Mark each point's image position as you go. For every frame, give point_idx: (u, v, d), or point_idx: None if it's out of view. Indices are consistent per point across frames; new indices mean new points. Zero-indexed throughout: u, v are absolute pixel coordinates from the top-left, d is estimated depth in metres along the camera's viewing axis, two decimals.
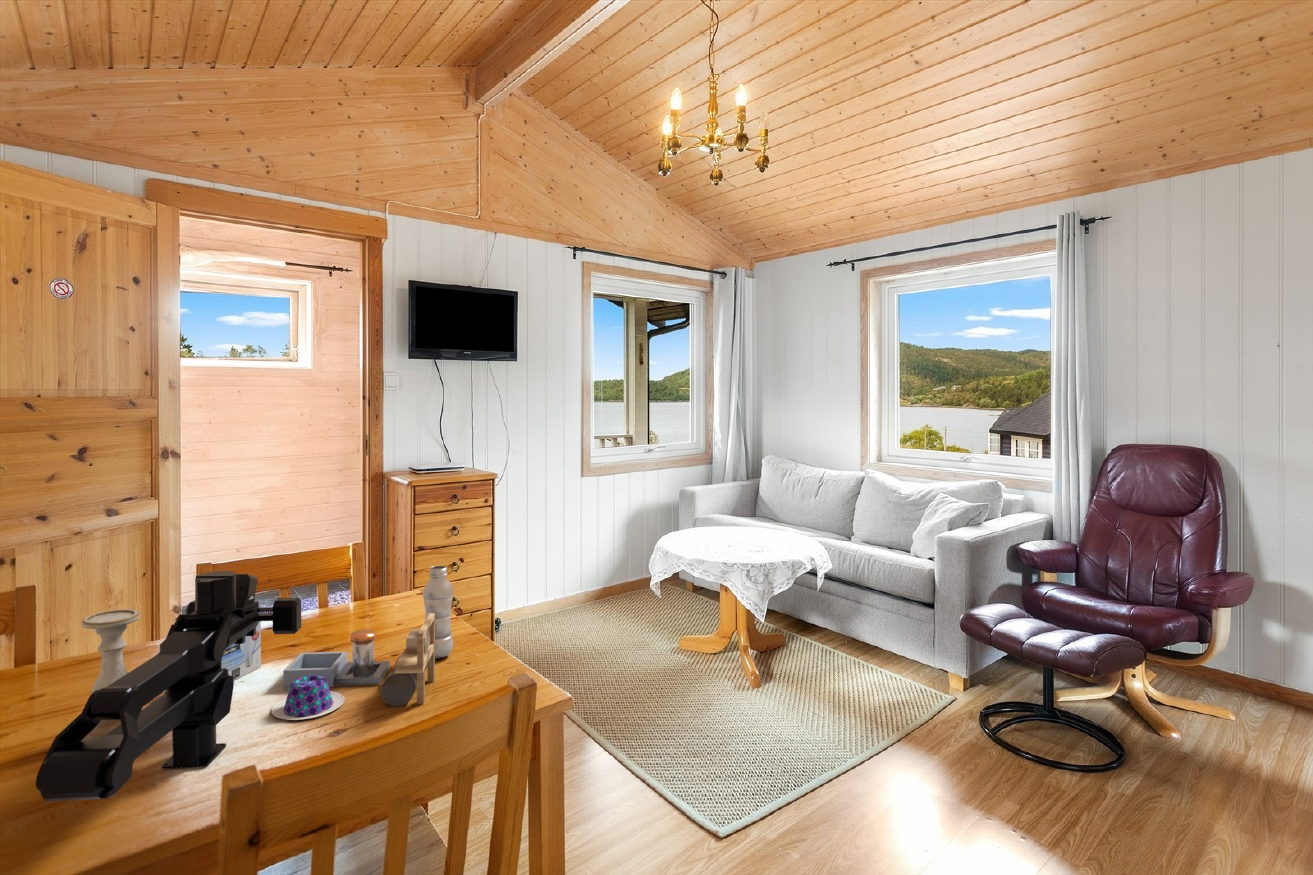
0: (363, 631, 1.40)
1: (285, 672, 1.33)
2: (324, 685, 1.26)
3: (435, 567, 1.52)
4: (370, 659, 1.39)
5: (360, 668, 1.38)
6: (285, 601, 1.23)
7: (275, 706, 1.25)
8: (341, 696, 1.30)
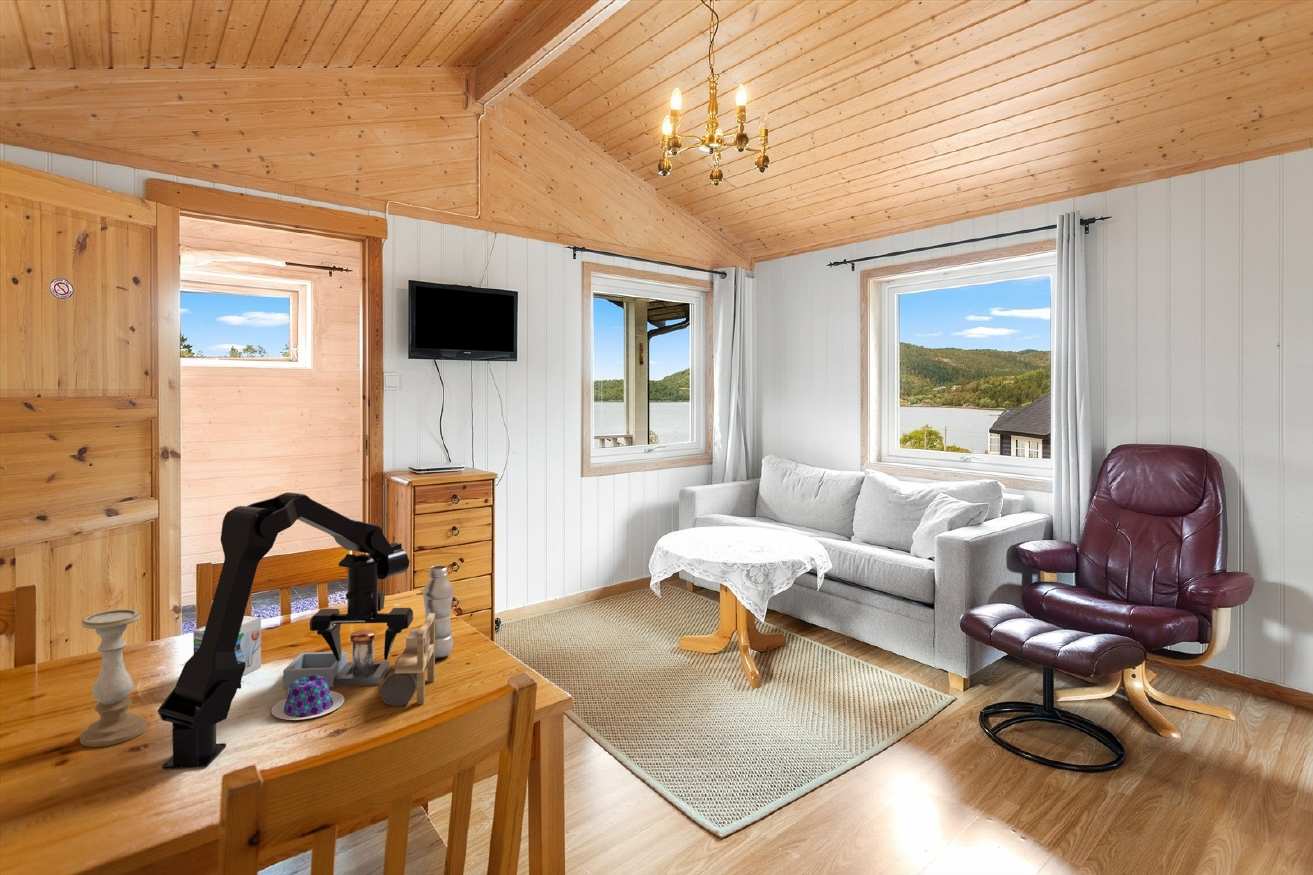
0: (363, 631, 1.40)
1: (285, 672, 1.33)
2: (325, 685, 1.26)
3: (435, 567, 1.52)
4: (370, 659, 1.39)
5: (360, 668, 1.38)
6: None
7: (275, 707, 1.25)
8: (340, 695, 1.30)
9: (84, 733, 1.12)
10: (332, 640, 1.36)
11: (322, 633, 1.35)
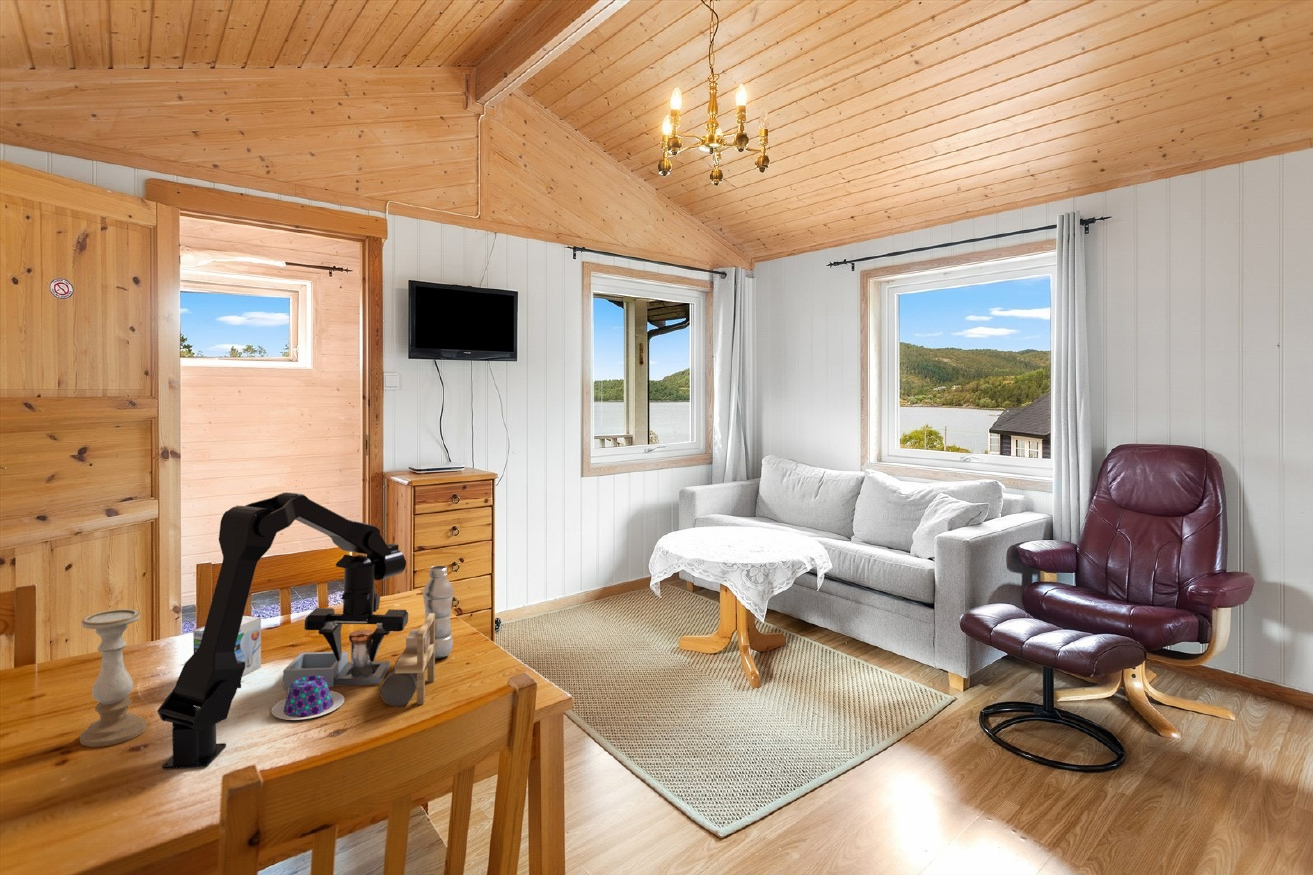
0: (362, 631, 1.40)
1: (285, 672, 1.33)
2: (325, 684, 1.26)
3: (435, 567, 1.52)
4: (368, 659, 1.39)
5: (358, 668, 1.38)
6: None
7: (274, 707, 1.25)
8: (340, 695, 1.30)
9: (84, 733, 1.12)
10: (333, 640, 1.36)
11: (324, 633, 1.35)
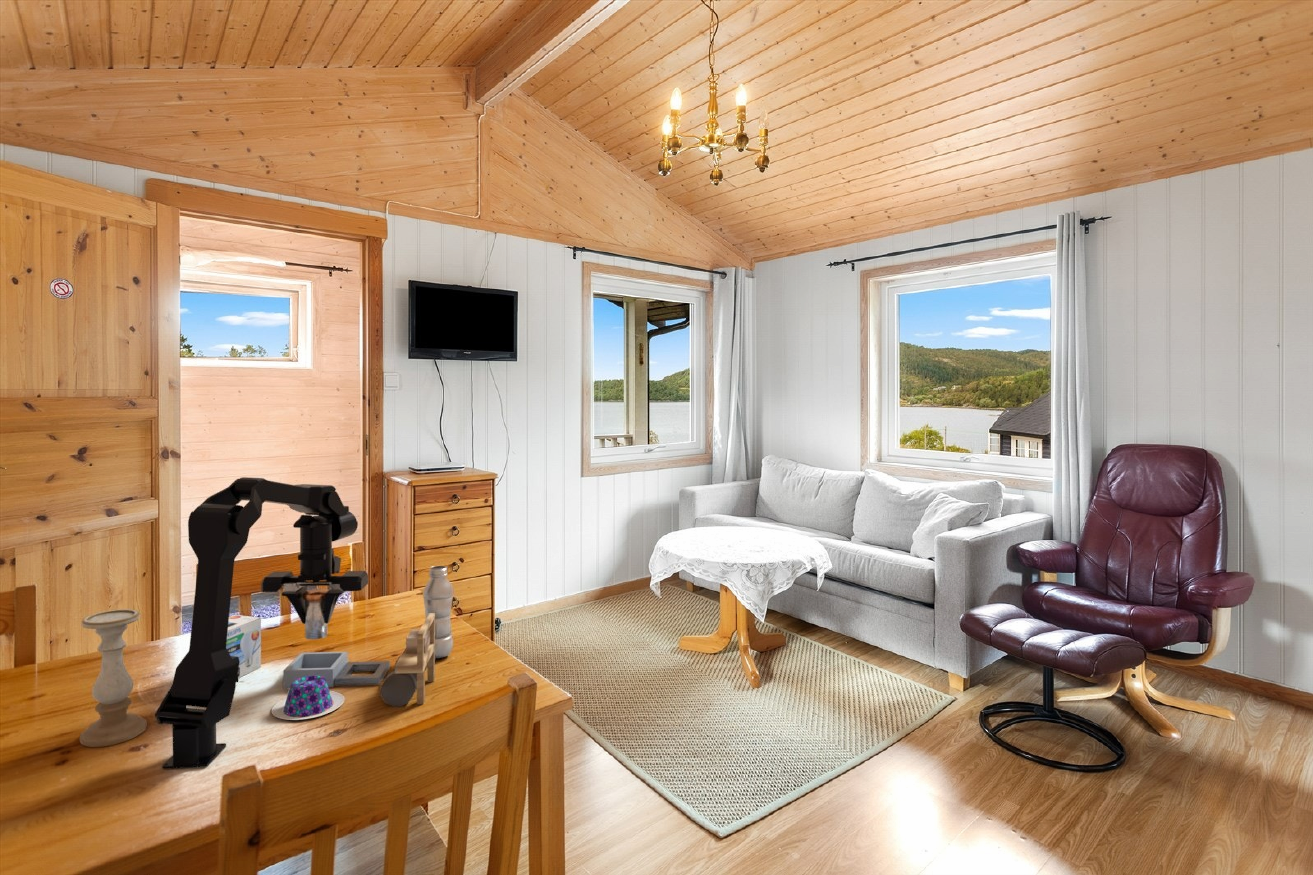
0: (316, 590, 1.39)
1: (285, 672, 1.33)
2: (325, 684, 1.26)
3: (435, 567, 1.52)
4: (323, 618, 1.37)
5: (312, 626, 1.36)
6: None
7: (274, 708, 1.24)
8: (339, 695, 1.30)
9: (84, 733, 1.12)
10: (297, 602, 1.35)
11: (287, 594, 1.34)
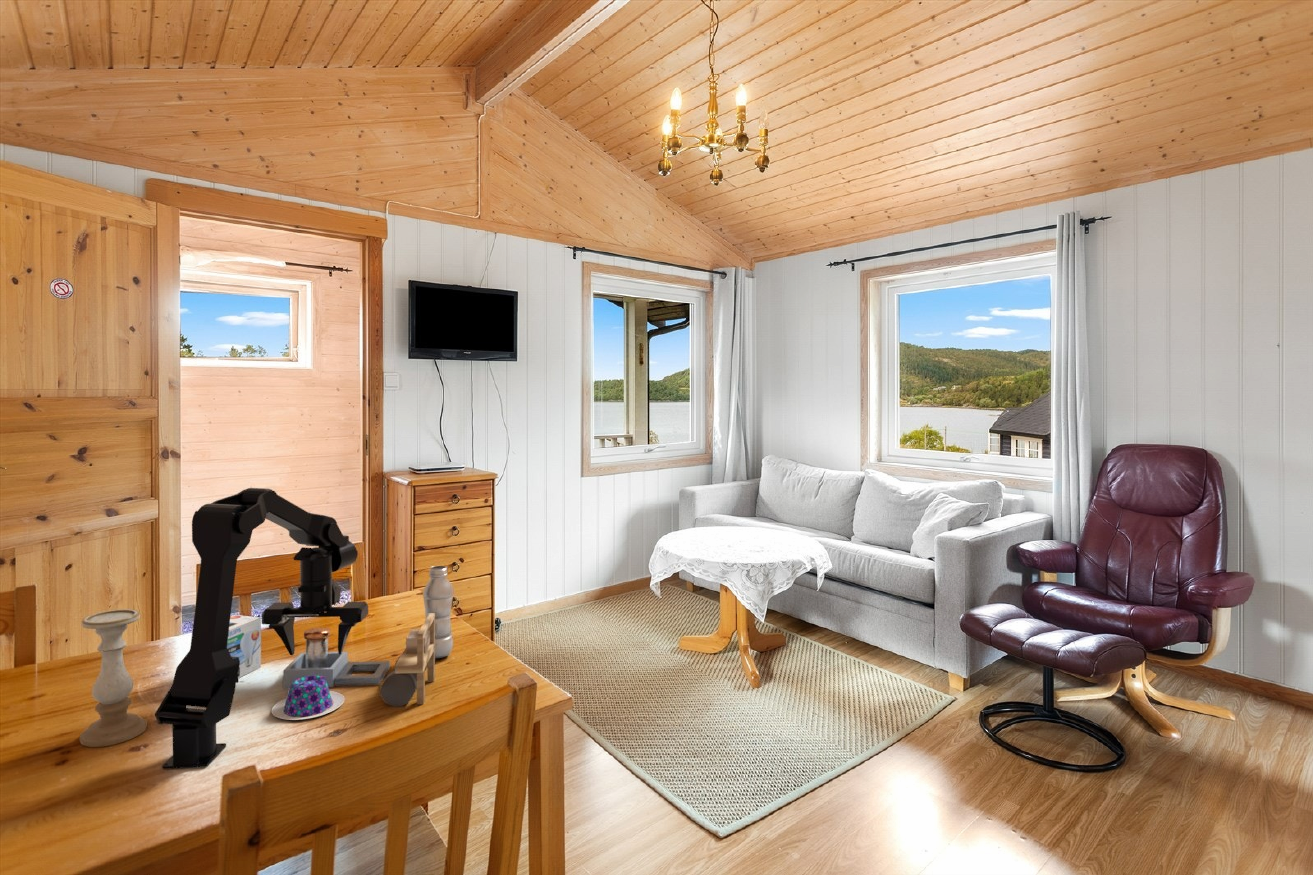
0: (317, 628, 1.39)
1: (285, 672, 1.33)
2: (325, 684, 1.26)
3: (435, 567, 1.52)
4: (323, 657, 1.37)
5: (313, 665, 1.36)
6: None
7: (273, 709, 1.24)
8: (339, 694, 1.30)
9: (84, 733, 1.12)
10: (284, 634, 1.35)
11: (274, 627, 1.34)
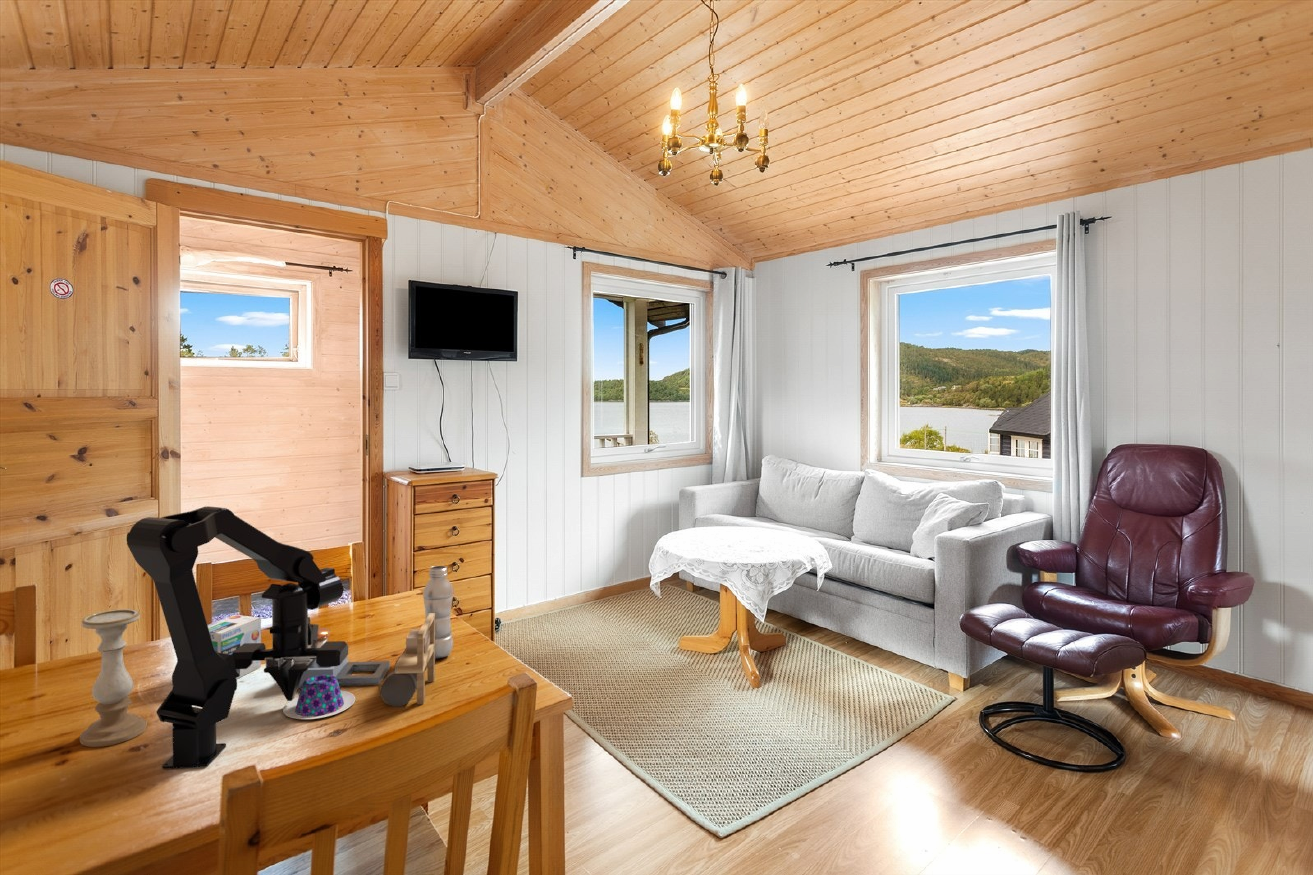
0: None
1: None
2: (337, 682, 1.27)
3: (435, 567, 1.52)
4: None
5: (312, 666, 1.36)
6: None
7: (284, 710, 1.24)
8: (347, 693, 1.31)
9: (84, 733, 1.12)
10: (281, 679, 1.23)
11: (269, 671, 1.22)
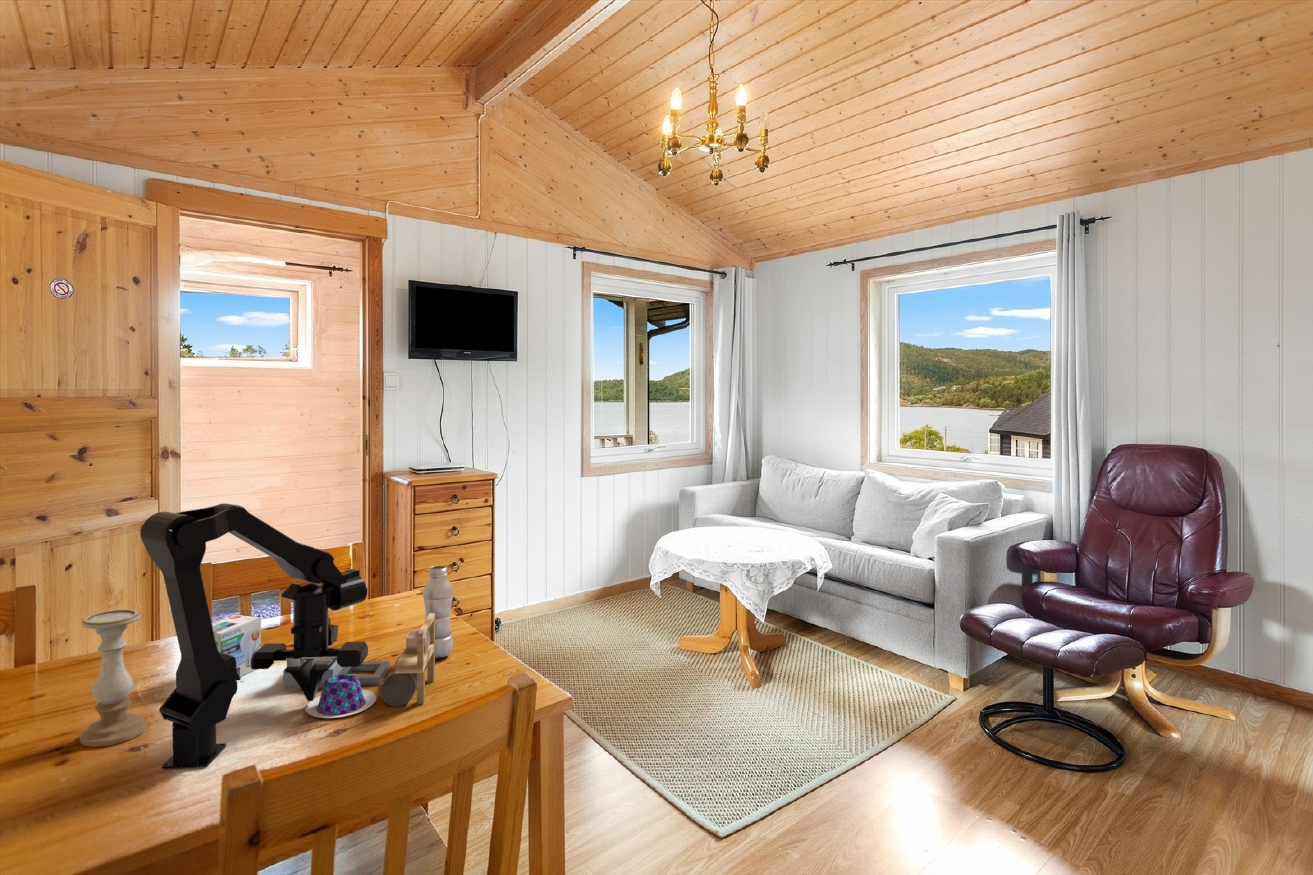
0: None
1: None
2: None
3: (435, 567, 1.52)
4: None
5: (312, 666, 1.36)
6: None
7: (307, 709, 1.24)
8: (368, 691, 1.32)
9: (84, 733, 1.12)
10: (302, 679, 1.23)
11: (290, 671, 1.22)
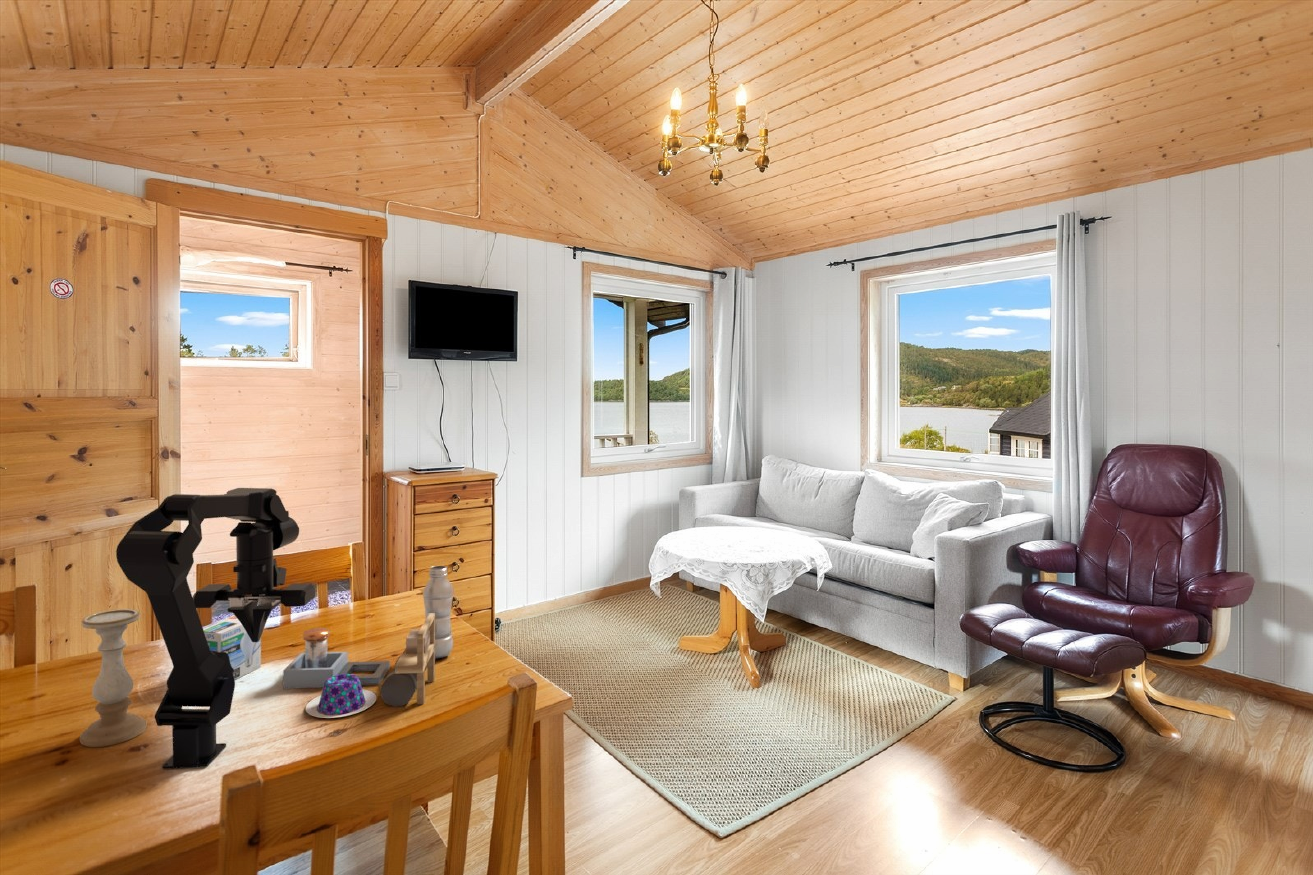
0: (316, 629, 1.39)
1: (285, 672, 1.33)
2: (359, 680, 1.28)
3: (435, 567, 1.52)
4: (323, 657, 1.37)
5: (312, 666, 1.36)
6: None
7: (307, 710, 1.24)
8: (366, 691, 1.32)
9: (84, 733, 1.12)
10: (245, 619, 1.21)
11: (233, 610, 1.20)
